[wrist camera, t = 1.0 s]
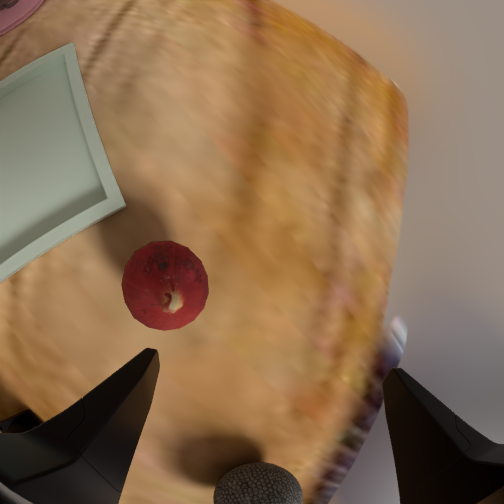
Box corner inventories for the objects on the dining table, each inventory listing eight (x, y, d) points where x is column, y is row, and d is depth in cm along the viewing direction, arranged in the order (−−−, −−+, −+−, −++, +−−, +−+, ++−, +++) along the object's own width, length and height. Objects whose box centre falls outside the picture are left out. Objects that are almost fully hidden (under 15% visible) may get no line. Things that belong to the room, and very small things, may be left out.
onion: (120, 243, 19) (111, 250, 12) (191, 236, 22) (223, 239, 14) (129, 316, 20) (130, 360, 13) (198, 306, 22) (231, 343, 15)
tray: (-18, 297, 14) (-28, 302, 12) (-56, 141, 10) (-65, 136, 8) (126, 207, 19) (125, 204, 17) (75, 53, 15) (73, 41, 13)
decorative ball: (216, 501, 24) (246, 552, 15) (190, 466, 23) (220, 532, 14) (281, 474, 28) (321, 518, 19) (269, 434, 26) (317, 488, 17)
